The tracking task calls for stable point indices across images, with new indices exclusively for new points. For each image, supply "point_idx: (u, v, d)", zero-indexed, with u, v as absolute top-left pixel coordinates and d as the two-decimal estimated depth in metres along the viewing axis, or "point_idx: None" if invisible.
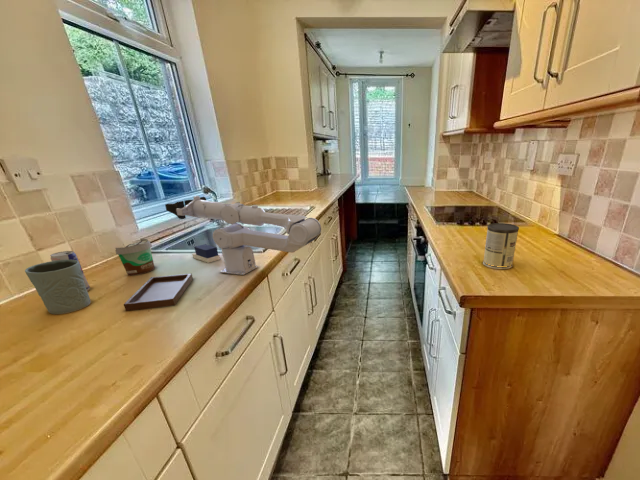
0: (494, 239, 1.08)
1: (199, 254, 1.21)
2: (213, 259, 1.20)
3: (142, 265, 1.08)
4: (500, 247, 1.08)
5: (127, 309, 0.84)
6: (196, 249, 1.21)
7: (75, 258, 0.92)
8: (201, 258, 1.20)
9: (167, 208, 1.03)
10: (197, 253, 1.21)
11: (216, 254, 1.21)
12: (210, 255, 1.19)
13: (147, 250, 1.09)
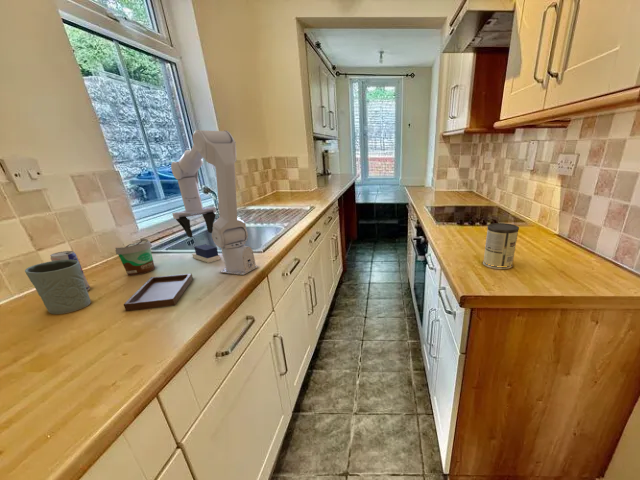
0: (494, 239, 1.08)
1: (199, 254, 1.21)
2: (213, 259, 1.20)
3: (142, 265, 1.08)
4: (500, 247, 1.08)
5: (127, 309, 0.84)
6: (196, 249, 1.21)
7: (75, 258, 0.92)
8: (201, 258, 1.20)
9: (188, 235, 1.16)
10: (197, 253, 1.21)
11: (216, 254, 1.21)
12: (210, 255, 1.19)
13: (147, 250, 1.09)
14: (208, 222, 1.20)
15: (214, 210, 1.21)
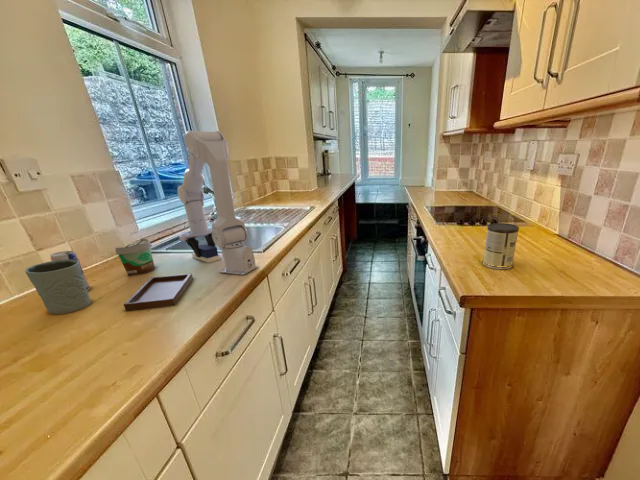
0: (494, 239, 1.08)
1: None
2: (213, 259, 1.20)
3: (142, 265, 1.08)
4: (500, 247, 1.08)
5: (127, 309, 0.84)
6: None
7: (75, 258, 0.92)
8: (201, 258, 1.20)
9: (197, 255, 1.20)
10: None
11: (216, 255, 1.21)
12: (210, 255, 1.19)
13: (147, 250, 1.09)
14: (210, 243, 1.23)
15: None
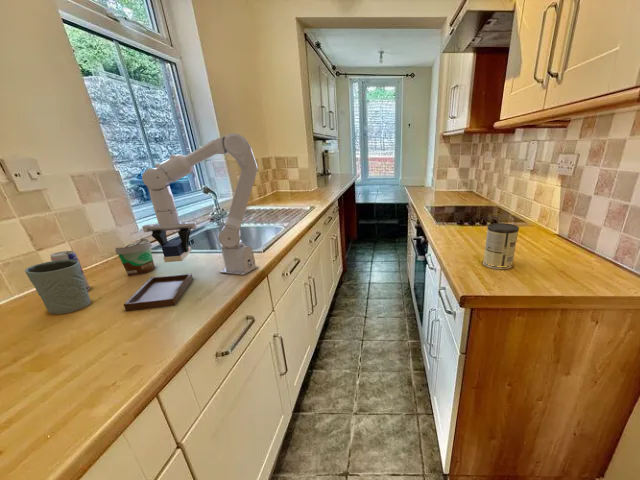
0: (494, 239, 1.08)
1: None
2: (172, 259, 0.99)
3: (142, 265, 1.08)
4: (500, 247, 1.08)
5: (127, 309, 0.84)
6: None
7: (75, 258, 0.92)
8: None
9: None
10: None
11: (177, 255, 0.99)
12: (168, 254, 0.98)
13: (147, 250, 1.09)
14: None
15: (193, 226, 1.01)
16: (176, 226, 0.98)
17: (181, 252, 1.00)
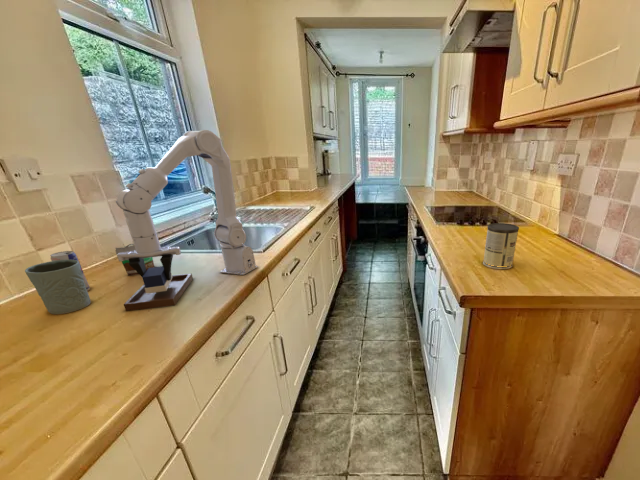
0: (494, 239, 1.08)
1: None
2: (155, 290, 0.88)
3: None
4: (500, 247, 1.08)
5: (127, 309, 0.84)
6: None
7: (75, 258, 0.92)
8: None
9: None
10: None
11: (160, 284, 0.89)
12: (150, 284, 0.88)
13: None
14: None
15: (177, 252, 0.91)
16: (158, 253, 0.88)
17: (164, 281, 0.90)
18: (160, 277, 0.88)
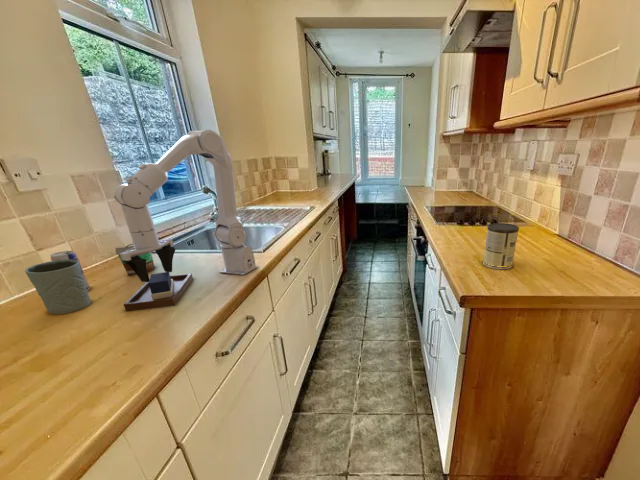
0: (494, 239, 1.08)
1: None
2: (161, 296, 0.89)
3: None
4: (500, 247, 1.08)
5: (127, 309, 0.84)
6: None
7: (75, 258, 0.92)
8: None
9: (143, 279, 0.88)
10: None
11: (166, 290, 0.89)
12: (157, 290, 0.88)
13: None
14: (165, 259, 0.94)
15: (171, 243, 0.94)
16: (162, 245, 0.90)
17: (170, 287, 0.91)
18: (167, 283, 0.89)
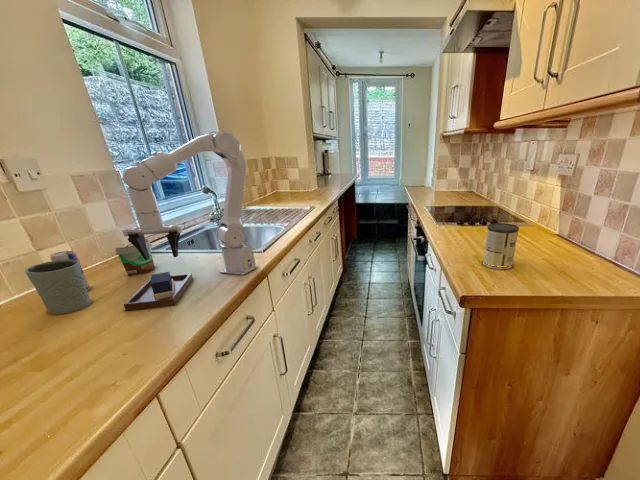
0: (494, 239, 1.08)
1: None
2: (163, 296, 0.89)
3: (142, 265, 1.08)
4: (500, 247, 1.08)
5: (127, 309, 0.84)
6: None
7: (75, 258, 0.92)
8: None
9: (177, 253, 0.96)
10: None
11: (168, 290, 0.90)
12: (159, 290, 0.88)
13: None
14: (144, 245, 0.93)
15: None
16: None
17: (171, 286, 0.91)
18: (168, 283, 0.89)
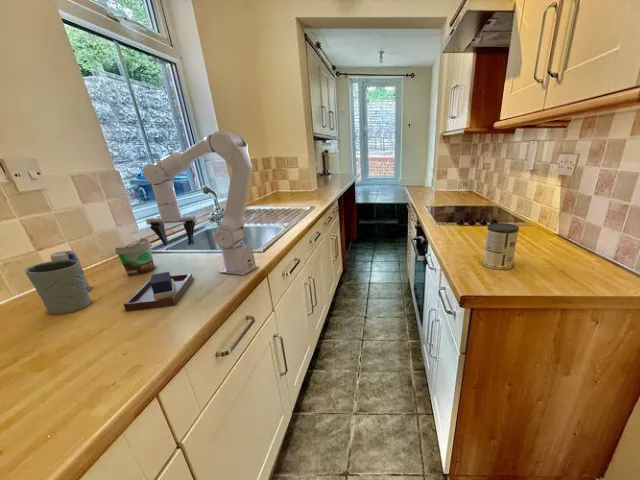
0: (494, 239, 1.08)
1: None
2: (163, 296, 0.89)
3: (142, 265, 1.08)
4: (500, 247, 1.08)
5: (127, 309, 0.84)
6: None
7: (75, 258, 0.92)
8: None
9: (192, 240, 1.09)
10: None
11: (168, 290, 0.90)
12: (159, 290, 0.88)
13: (147, 250, 1.09)
14: (163, 233, 1.06)
15: None
16: None
17: (171, 286, 0.91)
18: (168, 283, 0.89)
